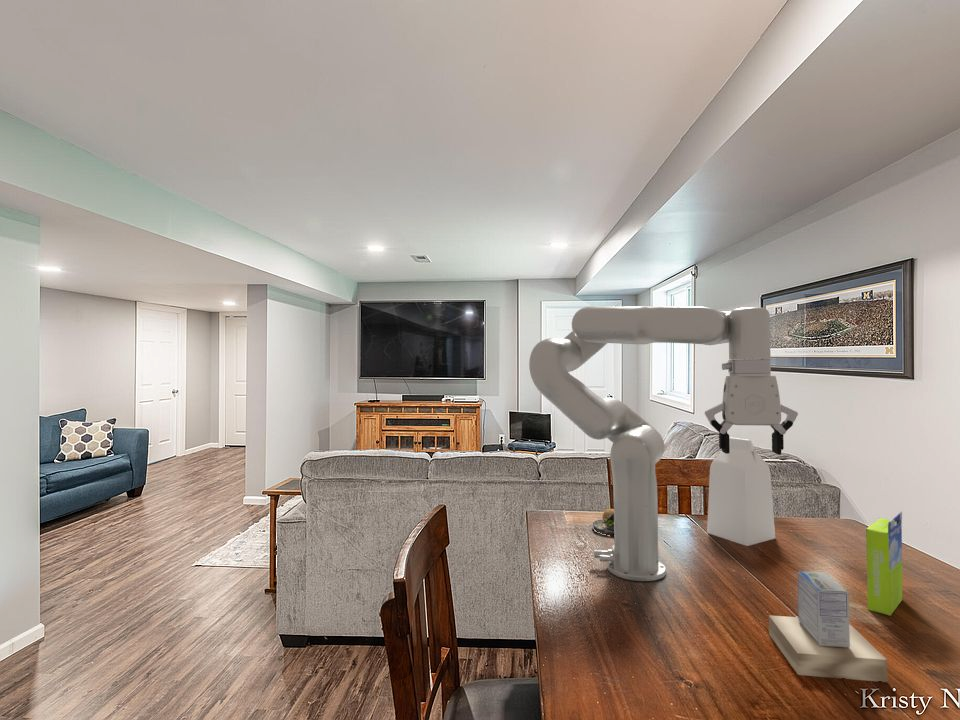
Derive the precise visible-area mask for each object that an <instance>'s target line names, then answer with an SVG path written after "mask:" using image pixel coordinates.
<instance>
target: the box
mask: <svg viewBox="0 0 960 720" xmlns="http://www.w3.org/2000/svg"><path fill="white" fill-rule="evenodd" d="M902 520H903V512H902V511H900V512H899V513H898V514H897V515H896V516H894V517H893V518H892V519H888V518H887V519H886V518H879V519H877V520H876V521H874V522H873V523H872V524H870V525H869V526H868V527H867V528H865V538H866V539H865V543H866V570H867V571H866V575H867V577H866V578H867V579H866V581H867V587H866V588H867V610H868V611H871V612H874V613H878V614H882V615H885V616H890V617H891V616H892V615H893V613H894V612H895V610H896V609H897V608H898V607H899V605H900V603H901V602H902V600H903V539H902V538H903V535H902V534H903V533H902V527H903V526H902V524H903V521H902Z"/></svg>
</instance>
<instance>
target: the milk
mask: <svg viewBox="0 0 960 720" xmlns="http://www.w3.org/2000/svg"><path fill="white" fill-rule="evenodd" d="M729 447H730V453H728V454H725V453H724V452H722V449H720V450H721V451H720V452H719V453H718V454H717V455H716V457H715V458H714V459H713V460H712V461H711V463H710V465H709V483H708V484H709V485H708V500H707V501H708V505H707V527H706V530H707V531H706V533H707V534H709V535H711V536H715V537H719V538H722V539H724V540H728V541H730V542H734V543H737V544H740V545H742V546H746V547H749V546H752V545H756V544H759V543H763V542H767V541H771V540H774V539H775V540H776V530H775V516H774V515H775V514H774V504H773V501H774V500H773V491H772V489H773V488H772V477H771V476H772V475H771V469H770V466H769V464H768V463H767V462H766V461H765V460H764V459H763V458H762V457H761V456H760V454H759V453H758V452H757V451H755V447H754V445H753V443H752V440H751V439H747V438H738V437H731V436H729Z"/></svg>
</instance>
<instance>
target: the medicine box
mask: <svg viewBox="0 0 960 720" xmlns="http://www.w3.org/2000/svg"><path fill="white" fill-rule="evenodd" d="M849 599H850V598H849V592H848V591H847V590H846V589H845V588H844V587H843V586H841V585H840V584H839V583H838V582H837V581H836V580H834V579H833V578H832V577H831V576H830V575H829V574H827V572H821V571H806V570H805V571H798V572H797V601H798V602H797V613H798V615H797V616H798V619H799V622H800V623H801V624H802V626H803V627H804V628H805V629H806V630H807V631H808V632H809V634H810V635H811V636H812V637H813V638H814V639H815V640H816V642H817V643H818V644H819V645H820V646H827V647H843V648H848V647H850V631H849V624H850V600H849Z"/></svg>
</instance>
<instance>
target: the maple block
mask: <svg viewBox="0 0 960 720" xmlns="http://www.w3.org/2000/svg"><path fill="white" fill-rule="evenodd" d="M849 631H850V647H848V648H843V647H827V646H820V645H819V644H818V643H817V642H816V640H815V639H814V638H813V637H812V636H811V635H810V634H809V632H808V631H807V630H806V629H805V628H804V627H803V626H802V624H801V623H800V622H799V619H798V617H797V616H785V615H784V616H782V615H771V614H770V615H768V632H769V633H768V634H769V636H770V638H771V640H772V641H773V642H774V643H775V645H776V646H777V648H778V649H779V651H780V652H781V653H782V654H783V656H784V657H785V658H786V660H787V661H788V663H789V664H790V666H791V667H792V669H793V670H794V671H795V673H796V674H797V675H798V676H809V677H820V678H833V679H842V678H845V679H846V680H855V681H870V682H878V681H882V682H881V683H888V659H887V658H886V657H885V656H884V655H883V654H882V653H881V652H880V651H878V649H876V647H874V645H872V644H871V643H870V642H869V641H868V639H866V638H865V637H864V635H862V634H861V633H860V632H859V631H858V630H857V629H856V628H855V627H854V626H853V625H852V624H850V623H849ZM834 677H835V678H834ZM845 679H844V680H845Z"/></svg>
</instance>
